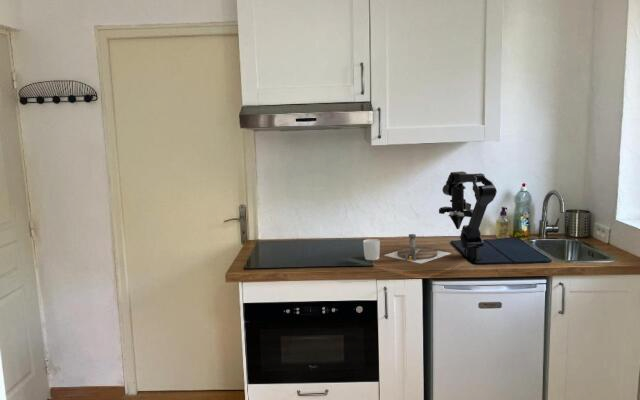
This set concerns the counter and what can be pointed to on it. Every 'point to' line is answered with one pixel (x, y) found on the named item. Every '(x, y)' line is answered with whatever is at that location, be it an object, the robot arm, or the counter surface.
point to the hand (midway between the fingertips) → (458, 229)
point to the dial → (416, 250)
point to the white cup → (371, 249)
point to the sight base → (395, 255)
